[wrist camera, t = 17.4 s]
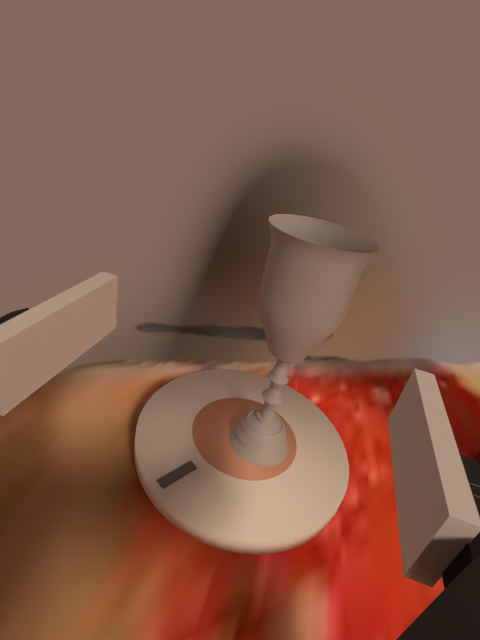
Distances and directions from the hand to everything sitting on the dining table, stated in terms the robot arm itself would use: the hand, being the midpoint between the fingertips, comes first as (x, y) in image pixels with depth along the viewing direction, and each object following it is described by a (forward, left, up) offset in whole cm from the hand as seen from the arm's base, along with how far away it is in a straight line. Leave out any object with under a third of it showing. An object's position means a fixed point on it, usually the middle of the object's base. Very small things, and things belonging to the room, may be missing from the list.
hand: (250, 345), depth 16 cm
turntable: (-9, -5, -16) cm, 19 cm away
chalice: (-9, -3, -15) cm, 18 cm away
